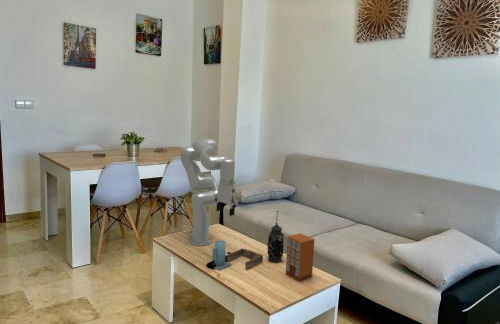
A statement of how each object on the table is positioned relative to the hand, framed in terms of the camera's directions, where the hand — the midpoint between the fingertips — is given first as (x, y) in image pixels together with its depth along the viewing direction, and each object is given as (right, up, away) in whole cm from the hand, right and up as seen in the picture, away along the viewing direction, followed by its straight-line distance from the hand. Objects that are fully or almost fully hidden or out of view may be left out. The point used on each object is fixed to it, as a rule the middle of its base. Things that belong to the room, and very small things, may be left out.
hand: (225, 212), depth 205 cm
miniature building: (+37, -30, -13) cm, 50 cm away
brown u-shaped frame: (+10, -27, +1) cm, 29 cm away
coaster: (-3, -27, -4) cm, 27 cm away
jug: (-3, -26, -5) cm, 27 cm away
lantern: (+27, -27, +6) cm, 38 cm away
